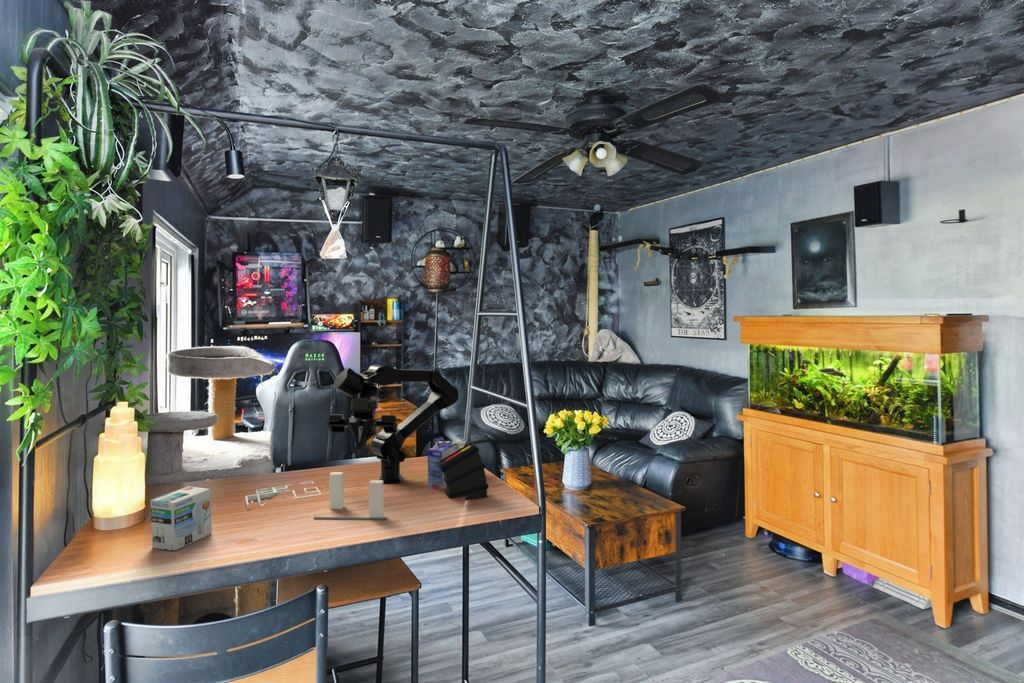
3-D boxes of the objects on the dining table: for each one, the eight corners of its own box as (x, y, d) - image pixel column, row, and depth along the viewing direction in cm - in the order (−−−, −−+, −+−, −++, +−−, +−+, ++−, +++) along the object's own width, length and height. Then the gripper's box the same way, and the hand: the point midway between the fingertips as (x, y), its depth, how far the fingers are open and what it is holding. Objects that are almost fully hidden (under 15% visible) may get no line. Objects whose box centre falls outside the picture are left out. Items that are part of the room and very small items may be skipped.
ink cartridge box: (444, 481, 173) (444, 434, 173) (460, 483, 171) (460, 435, 170) (426, 490, 165) (426, 440, 164) (443, 493, 162) (442, 442, 161)
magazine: (498, 490, 159) (476, 444, 156) (457, 516, 155) (433, 469, 152) (494, 486, 163) (472, 441, 160) (453, 511, 159) (430, 465, 156)
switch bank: (331, 506, 151) (331, 500, 151) (398, 507, 151) (398, 501, 151) (313, 523, 139) (313, 517, 139) (387, 524, 139) (387, 518, 139)
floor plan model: (250, 524, 141) (250, 516, 140) (243, 495, 162) (243, 488, 162) (329, 511, 150) (329, 503, 149) (312, 485, 171) (312, 478, 171)
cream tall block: (332, 506, 148) (332, 472, 148) (344, 506, 148) (343, 472, 148) (329, 509, 146) (329, 474, 146) (341, 509, 146) (340, 474, 146)
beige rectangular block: (371, 516, 141) (371, 480, 141) (383, 516, 141) (383, 480, 141) (369, 519, 139) (368, 482, 139) (381, 519, 139) (381, 482, 139)
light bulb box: (175, 552, 123) (173, 502, 123) (150, 548, 125) (148, 500, 124) (213, 533, 133) (212, 487, 133) (190, 530, 135) (188, 485, 135)
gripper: (329, 385, 160) (317, 433, 150) (396, 386, 161) (389, 433, 151) (336, 408, 168) (325, 455, 158) (400, 409, 169) (394, 455, 159)
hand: (358, 449), depth 156 cm, fingers closed
